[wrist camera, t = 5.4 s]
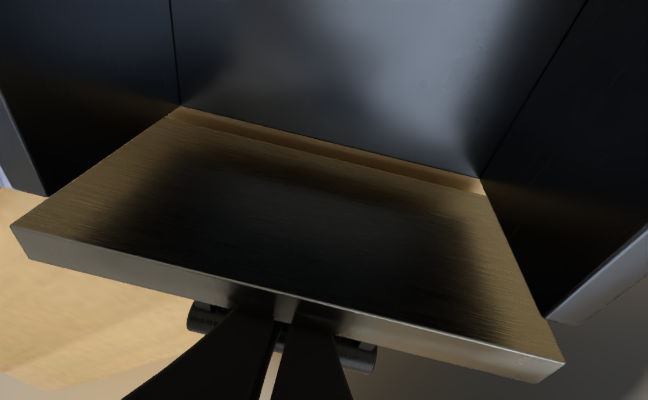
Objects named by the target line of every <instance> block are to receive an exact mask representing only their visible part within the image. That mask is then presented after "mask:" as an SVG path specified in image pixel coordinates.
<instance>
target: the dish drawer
mask: <svg viewBox="0 0 648 400" xmlns="http://www.w3.org/2000/svg"><path fill="white" fill-rule="evenodd" d="M179 106H184V107H188V108H192V109H196V110H200V111H204V112H208V113H212V114H216V115H220V116H225V117H229V118H233V119H237V120H241V121H245V122H249V123H253V124H257V125H261V126H265V127H269V128H274V129H278V130H282V131H286V132H290V133H294V134H298V135H302V136H306V137H310V138H314V139H319V140H323V141H327V142H331V143H335V144H339V145H343V146H347V147H351V148H355V149H359V150H363V151H368V152H372V153H376V154H380V155H384V156H388V157H392V158H396V159H400V160H404V161H408V162H413V163H417V164H421V165H425V166H429V167H433V168H437V169H441V170H445V171H449V172H453V173H457V174H462V175H466V176H470V177H474V178H478V179H480V182H481V184H482V186H483V189H484V191H485V193H486V195H487V196H484V195H480V194H476V193H472V192H468V191H464V190H460V189H456V188H452V187H448V186H443V185H439V184H435V183H431V182H427V181H423V180H419V179H415V178H411V177H407V176H403V175H399V174H394V173H390V172H386V171H382V170H378V169H374V168H370V167H366V166H362V165H358V164H354V163H350V162H345V161H341V160H337V159H333V158H329V157H325V156H321V155H317V154H313V153H309V152H305V151H301V150H296V149H292V148H288V147H284V146H280V145H276V144H272V143H268V142H264V141H260V140H256V139H252V138H247V137H243V136H239V135H235V134H231V133H227V132H223V131H219V130H215V129H211V128H207V127H203V126H198V125H194V124H190V123H186V122H182V121H178V120H174V119H170V118H166V117H165V116H167V115H168V114H169V113H171V112H172V111H174V110H175V109H177V108H178V107H179ZM164 117H165V118H164ZM162 118H163V119H162ZM159 120H160V121H159ZM152 125H153V126H152ZM149 127H150V128H149ZM146 129H147V130H146ZM139 134H140V135H139ZM136 136H137V137H136ZM129 141H130V142H129ZM126 143H127V144H126ZM119 148H120V149H119ZM116 150H117V151H116ZM109 155H110V156H109ZM106 157H107V158H106ZM103 159H104V160H103ZM99 162H100V163H99ZM96 164H97V165H96ZM0 166H1V168H2V170H3V172H4V174H5V176H6V178H7V179H8V181H9V183H10V185H11V187H12V188H13V189H15V190H19V191H23V192H27V193H31V194H35V195H39V196H43V197H49V198H48V199H47V200H45V201H44V202H42V203H41V204H39V205H38V206H37V207H35V208H34V209H32V210H31V211H29V212H28V213H27V214H25V215H24V216H22V217H21V218H19V219H18V220H17V221H15V222H14V223H12V224H11V225H10V229H11V230H12V232H13V234H14V235H15V237H16V239H17V240H18V242H19V243H20V245H21V247H22V248H23V250H24V252H25V253H26V255H27V257H28V258H29V259H31V260H34V261H38V262H42V263H46V264H50V265H54V266H59V267H63V268H67V269H71V270H75V271H79V272H83V273H87V274H91V275H95V276H99V277H103V278H107V279H111V280H115V281H119V282H123V283H127V284H131V285H136V286H140V287H144V288H148V289H152V290H156V291H160V292H164V293H168V294H172V295H176V296H180V297H184V298H188V299H192V300H194V302H193V304H192V306H191V308H190V311H189V314H188V318H187V329H188V330H189V331H193V332H197V333H201V334H205V335H206V334H207V333H208V332H209V331H211V330H212V329H213V328H214V327H215V326H216V325H217V324H218V323H219V322H220V321H221V320H223V319H224V318H225V317H226V316H227V315H228V314H229V313H230V312H231V311H232V310H237V311H241V312H245V313H249V314H253V315H257V316H261V317H265V318H269V319H273V320H277V321H281V322H284V324H283V327H282V329H281V332H280V335H279V338H278V340H277V343H276V346H275V348H274V352H278V353H282V354H283V350H284V345H285V339H286V333H287V327H288V323H289V324H294V325H298V326H302V327H306V328H310V329H314V330H318V331H322V332H326V333H330V334H333V336H334V340H335V344H336V348H337V351H338V355H339V358H340V362H341V365H342V369H346V370H351V371H355V372H359V373H363V374H367V375H369V374H371V373H372V371H373V369H374V366H375V362H376V356H377V345H379V346H383V347H387V348H391V349H395V350H399V351H403V352H407V353H411V354H415V355H419V356H423V357H427V358H432V359H435V360H439V361H444V362H448V363H452V364H456V365H460V366H464V367H468V368H472V369H476V370H480V371H485V372H488V373H492V374H496V375H501V376H504V377H508V378H512V379H516V380H520V381H525V382H529V383H533V384H537V383H538V382H540V381H541V380H543V379H544V378H545V377H547V376H549V375H550V374H552V373H553V372H555V371H556V370H558V369H559V368H561V367H562V366H564V365H565V364H566V361H565V359H564V356H563V354H562V352H561V350H560V348H559V346H558V343H557V341H556V339H555V337H554V335H553V332H552V330H551V328H550V326H549V324H548V322H547V320H549V321H554V322H557V323H562V324H566V325H570V326H574V327H576V326H580V325H581V324H583V323H584V322H585V321H587V320H588V319H589V318H591V317H592V316H593V315H594V314H596V313H597V312H599V311H600V310H601V309H603V308H604V307H605V306H606V305H608V304H609V303H611V302H612V301H613V300H614V299H616V298H617V297H619V296H620V295H621V294H623V293H624V292H625V291H627V290H628V289H629V288H631V287H632V286H633V285H634V284H636V283H637V282H639V281H640V280H641V279H643V278H644V277H645V276H647V275H648V0H0ZM93 166H94V167H93ZM89 169H90V170H89ZM86 171H87V172H86ZM83 173H84V174H83ZM76 178H77V179H76ZM73 180H74V181H73ZM66 185H67V186H66ZM63 187H64V188H63ZM60 189H61V190H60ZM56 192H57V193H56ZM53 194H54V195H53ZM50 196H51V197H50Z"/></svg>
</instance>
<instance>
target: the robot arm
mask: <svg viewBox="0 0 648 400" xmlns="http://www.w3.org/2000/svg"><path fill="white" fill-rule="evenodd" d="M2 187H7V188H10V189H13V188H12V187H11V185H10V183H9V181H8V179H7V178H6V176H5V174H4V172H3V170H2V168H1V166H0V188H2ZM13 190H15V189H13ZM16 191H19V190H16ZM283 324H284V322H281V321H277V320H273V319H269V318H265V317H261V316H257V315H253V314H249V313H245V312H241V311H237V310H232V311H231V312H230V313H229V314H228V315H227V316H226V317H225V318H224V319H223V320H221V321H220V322H219V323H218V324H217V325H216V326H215V327H214V328H213V329H212V330H211V331H209V332H208V333H207V334H206V335H205V336H204V337H203V338H202V339H200V340H199V341H198V342H197V343H196V344H195V345H193V346H192V347H191V348H190V349H188V350H187V351H186V352H185V353H183V354H182V355H181V356H180V357H178V358H177V359H176V360H174V361H173V362H172V363H171V364H169V365H168V366H167V367H166V368H164V369H163V370H162V371H160V372H159V373H158V374H156V375H155V376H153V377H152V378H150V379H149V380H148V381H146V382H145V383H143V384H142V385H141V386H139V387H138V388H136V389H135V390H134V391H132V392H131V393H130V394H128V395H127V396H125V397H124V398H123V399H121V400H259V398H260V394H261V390H262V386H263V383H264V379H265V376H266V372H267V369H268V366H269V363H270V359H271V357H272V354H273V351H274V348H275V346H276V343H277V340H278V338H279V335H280V332H281V329H282V327H283ZM270 400H353V398H352V395H351V392H350V389H349V386H348V384H347V380H346V378H345V375H344V372H343V369H342V365H341V362H340V358H339V355H338V351H337V348H336V344H335V340H334V336H333V334H330V333H326V332H322V331H318V330H314V329H310V328H306V327H302V326H298V325H294V324H289V323H288V327H287V333H286V339H285V345H284V350H283V354H282V358H281V361H280V365H279V369H278V373H277V377H276V380H275V384H274V388H273V391H272V395H271V399H270Z"/></svg>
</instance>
